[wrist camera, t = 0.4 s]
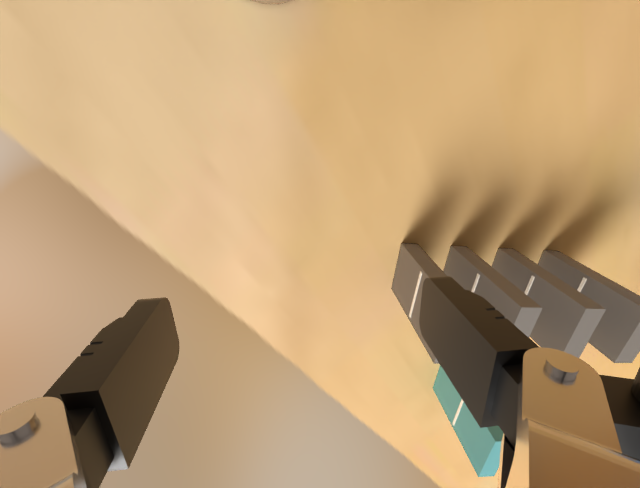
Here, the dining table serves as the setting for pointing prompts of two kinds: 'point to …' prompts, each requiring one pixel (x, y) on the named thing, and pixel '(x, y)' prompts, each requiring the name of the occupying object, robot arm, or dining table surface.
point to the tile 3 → (551, 303)
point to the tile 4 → (620, 303)
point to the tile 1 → (413, 283)
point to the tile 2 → (492, 287)
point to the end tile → (469, 428)
